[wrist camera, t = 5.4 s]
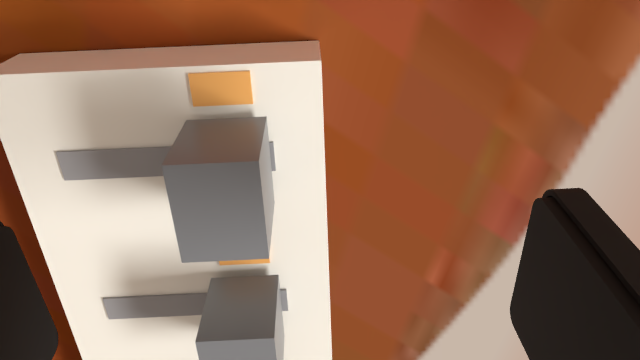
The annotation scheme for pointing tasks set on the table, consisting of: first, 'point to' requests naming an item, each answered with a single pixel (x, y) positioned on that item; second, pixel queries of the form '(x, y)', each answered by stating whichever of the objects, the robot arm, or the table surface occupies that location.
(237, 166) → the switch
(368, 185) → the table surface
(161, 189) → the switch box
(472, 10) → the table surface
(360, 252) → the table surface
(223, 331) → the middle switch
